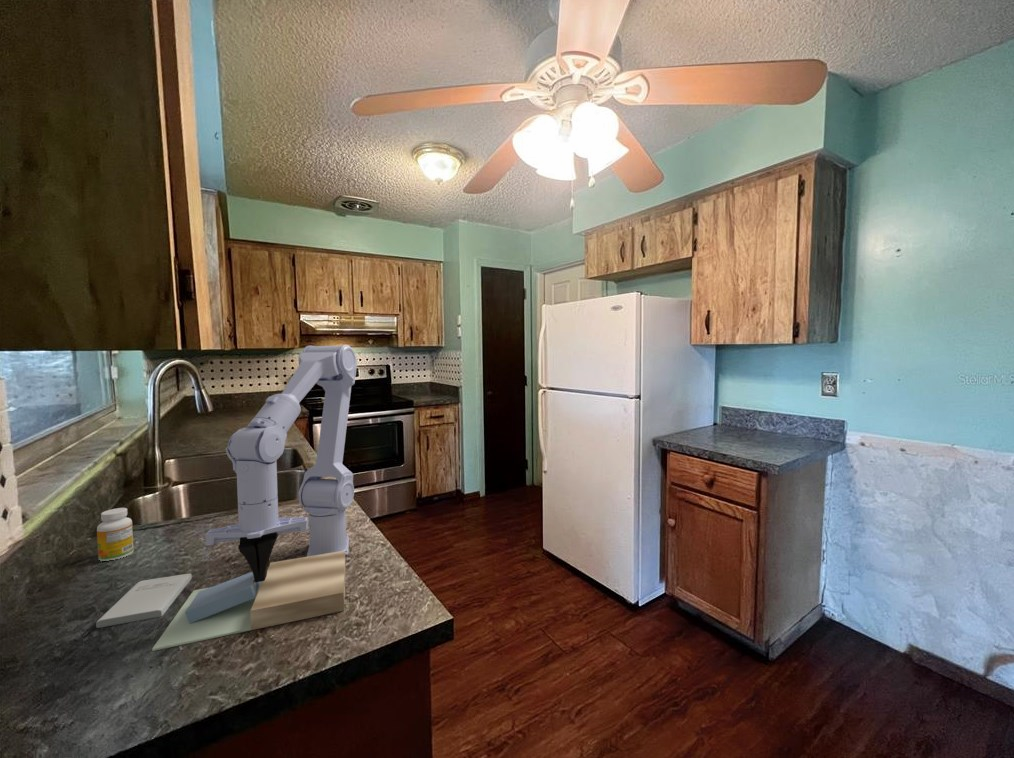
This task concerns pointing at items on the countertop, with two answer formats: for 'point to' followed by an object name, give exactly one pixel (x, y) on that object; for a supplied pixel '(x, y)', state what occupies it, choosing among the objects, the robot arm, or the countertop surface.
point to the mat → (206, 624)
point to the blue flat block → (222, 597)
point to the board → (300, 590)
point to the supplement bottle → (114, 535)
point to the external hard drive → (145, 600)
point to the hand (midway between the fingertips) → (261, 578)
